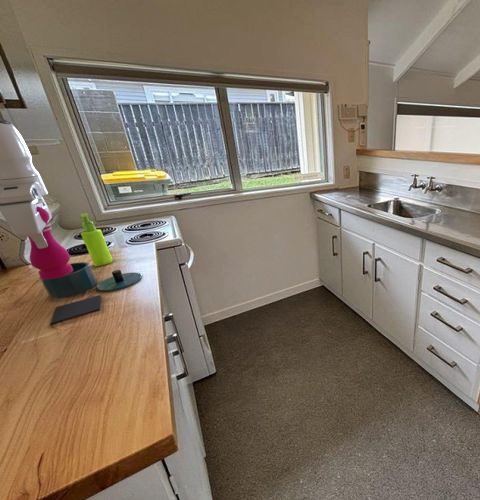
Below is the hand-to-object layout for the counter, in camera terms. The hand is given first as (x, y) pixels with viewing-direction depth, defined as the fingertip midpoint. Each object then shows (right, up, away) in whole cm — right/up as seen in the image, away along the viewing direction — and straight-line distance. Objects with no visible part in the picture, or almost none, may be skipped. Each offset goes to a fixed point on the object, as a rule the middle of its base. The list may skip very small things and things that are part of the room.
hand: (45, 244), depth 72 cm
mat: (+1, -19, +8) cm, 20 cm away
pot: (-11, -15, +19) cm, 27 cm away
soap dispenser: (-19, -7, +39) cm, 44 cm away
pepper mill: (0, -8, +3) cm, 9 cm away
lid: (+1, -12, +22) cm, 25 cm away
